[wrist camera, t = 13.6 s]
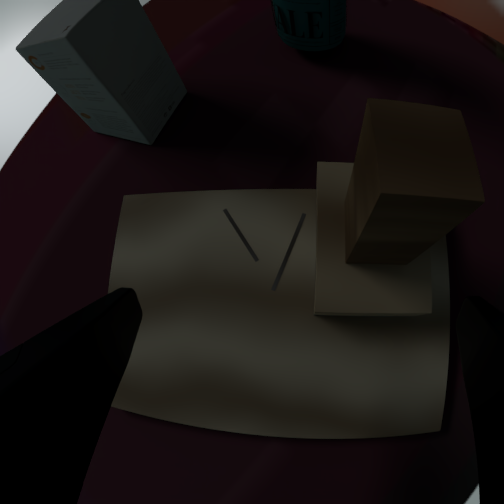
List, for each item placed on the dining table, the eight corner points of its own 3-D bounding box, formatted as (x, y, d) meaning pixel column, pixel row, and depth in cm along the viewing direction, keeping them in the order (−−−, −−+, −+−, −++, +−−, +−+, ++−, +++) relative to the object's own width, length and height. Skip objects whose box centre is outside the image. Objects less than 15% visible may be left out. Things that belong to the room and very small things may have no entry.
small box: (189, 91, 25) (130, -23, 13) (152, 147, 24) (63, 37, 12) (127, 84, 27) (65, -4, 15) (93, 132, 26) (12, 50, 14)
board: (431, 425, 15) (440, 430, 14) (113, 400, 19) (101, 403, 18) (432, 203, 19) (440, 194, 18) (133, 203, 23) (124, 195, 22)
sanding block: (414, 316, 16) (529, 288, 6) (313, 315, 17) (325, 288, 7) (407, 188, 18) (472, 69, 8) (316, 184, 19) (317, 48, 9)
